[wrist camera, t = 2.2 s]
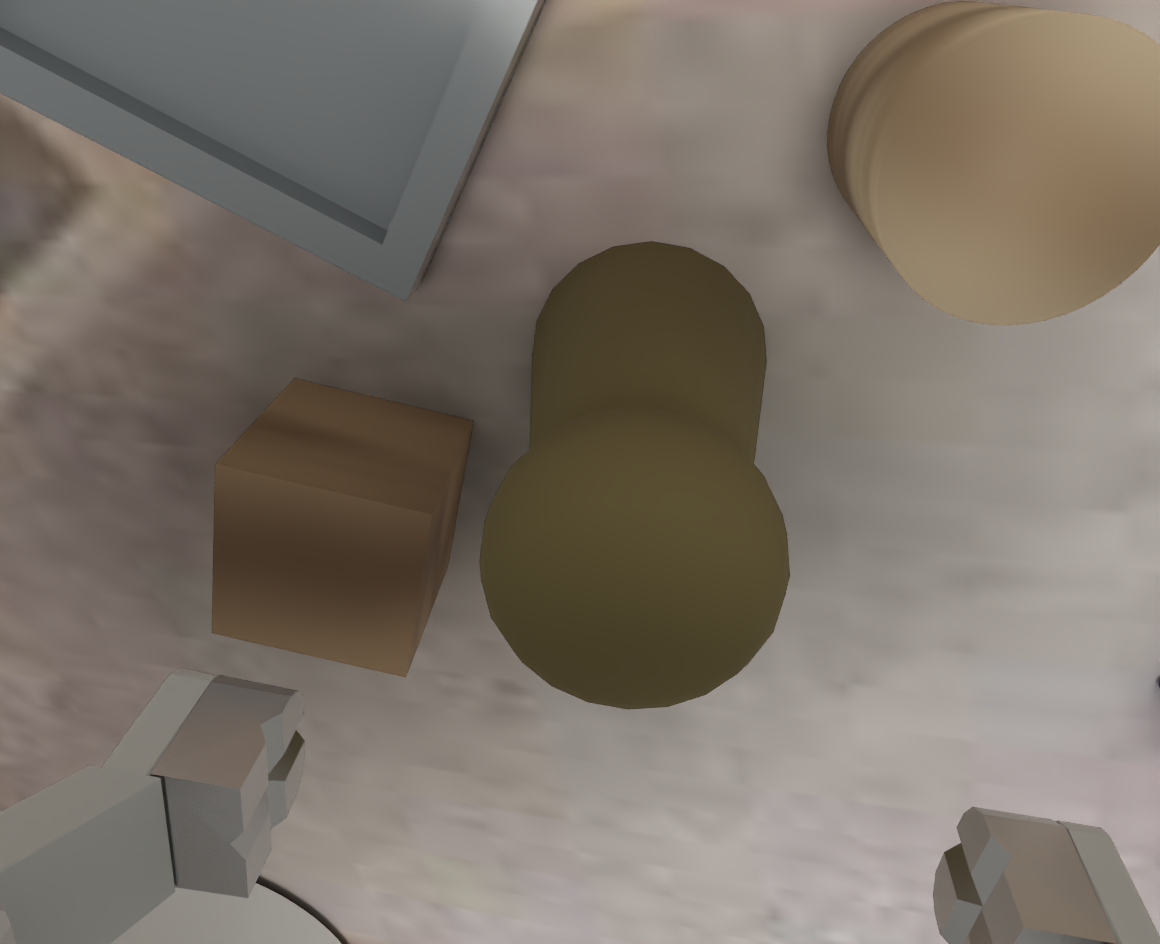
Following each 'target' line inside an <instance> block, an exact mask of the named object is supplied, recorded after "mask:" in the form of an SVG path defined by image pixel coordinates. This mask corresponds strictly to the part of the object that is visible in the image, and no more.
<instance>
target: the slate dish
mask: <svg viewBox="0 0 1160 944" xmlns="http://www.w3.org/2000/svg"><path fill="white" fill-rule="evenodd" d="M545 2H546V0H0V93H1V94H3V95H5V96H7V97H9V98H11V99H13V100H15V101H17V102H19V103H21V104H23V105H25V106H27V107H28V108H30V109H32V110H34V111H36V112H38V113H40V114H42V115H44V116H46V117H48V118H50V119H52V120H54V121H56V122H58V123H60V124H62V125H63V126H65V127H67V128H69V129H71V130H73V131H75V132H77V133H79V134H81V135H83V136H85V137H87V138H89V139H91V140H93V141H95V142H96V143H98V144H100V145H102V146H104V147H106V148H108V149H110V150H112V151H114V152H116V153H118V154H120V155H122V156H124V157H126V158H128V159H130V160H131V161H133V162H135V163H137V164H139V165H141V166H143V167H145V168H147V169H149V170H151V171H153V172H155V173H157V174H159V175H161V176H163V177H164V178H166V179H168V180H170V181H172V182H174V183H176V184H178V185H180V186H182V187H184V188H186V189H188V190H190V191H192V192H194V193H196V194H198V195H199V196H201V197H203V198H205V199H207V200H209V201H211V202H213V203H215V204H217V205H219V206H221V207H223V208H225V209H227V210H229V211H231V212H232V213H234V214H236V215H238V216H240V217H242V218H244V219H246V220H248V221H250V222H252V223H254V224H256V225H258V226H260V227H262V228H264V229H266V230H267V231H269V232H271V233H273V234H275V235H277V236H279V237H281V238H283V239H285V240H287V241H289V242H291V243H293V244H295V245H297V246H299V247H300V248H302V249H304V250H306V251H308V252H310V253H312V254H314V255H316V256H318V257H320V258H322V259H324V260H326V261H328V262H330V263H332V264H333V265H335V266H337V267H339V268H341V269H343V270H345V271H347V272H349V273H351V274H353V275H355V276H357V277H359V278H361V279H363V280H365V281H367V282H368V283H370V284H372V285H374V286H376V287H378V288H380V289H382V290H384V291H386V292H388V293H390V294H392V295H394V296H396V297H398V298H400V299H401V300H403V301H405V302H406V301H407V299H408V298H409V297H410V296H411V294H412V293H413V292H414V291H415V290H416V288H417V287H418V286H419V285H420V283H421V282H422V280H423V278H424V276H425V274H426V271H427V269H428V267H429V264H430V262H431V260H432V258H433V255H434V253H435V251H436V249H437V246H438V244H439V242H440V240H441V237H442V235H443V233H444V231H445V228H446V226H447V224H448V222H449V219H450V217H451V215H452V212H453V210H454V208H455V206H456V203H457V201H458V199H459V197H460V194H461V192H462V190H463V188H464V185H465V183H466V181H467V179H468V176H469V174H470V172H471V169H472V167H473V165H474V163H475V160H476V158H477V156H478V154H479V151H480V149H481V147H482V145H483V142H484V140H485V138H486V136H487V133H488V131H489V129H490V127H491V124H492V122H493V120H494V117H495V115H496V113H497V111H498V108H499V106H500V104H501V102H502V99H503V97H504V95H505V93H506V90H507V88H508V86H509V84H510V81H511V79H512V77H513V74H514V72H515V70H516V68H517V65H518V63H519V61H520V59H521V56H522V54H523V52H524V50H525V47H526V45H527V43H528V41H529V38H530V36H531V34H532V32H533V29H534V27H535V25H536V22H537V20H538V18H539V16H540V13H541V11H542V9H543V7H544V4H545Z"/></svg>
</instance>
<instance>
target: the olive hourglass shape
mask: <svg viewBox="0 0 1160 944" xmlns="http://www.w3.org/2000/svg"><path fill="white" fill-rule="evenodd" d="M765 370H766V348H765V335H764V326H763V323H762V321H761V319H760V317H759V314H758V312H757V310H756V307H755V305H754V303H753V301H752V298H751V296H750V294H749V293H748V292H747V290H746V289H745V288H744V287H743V286H742V285H741V284H740V283H739V282H738V281H737V280H736V279H735V278H734V277H733V276H732V274H731V273H730V272H729V271H728V270H727V269H726V268H725V267H724V266H722V265H720V264H719V263H717V262H715V261H713V260H711V259H709V258H707V257H705V256H704V255H702V254H700V253H698V252H696V251H694V250H692V249H690V248H686V247H680V246H674V245H669V244H663V243H657V242H644V243H637V244H630V245H623V246H616V247H612V248H610V249H608V250H606V251H604V252H602V253H600V254H598V255H595V256H593V257H591V258H589V259H587V260H585V261H583V262H581V263H579V264H578V265H577V266H576V267H575V268H574V269H573V270H572V271H571V272H570V273H569V274H568V275H567V276H566V277H565V278H564V279H563V280H562V281H561V282H560V283H559V284H558V285H557V286H556V287H554V288H553V290H552V292H551V293H550V295H549V297H548V299H547V301H546V303H545V305H544V307H543V309H542V311H541V313H540V315H539V317H538V319H537V322H536V330H535V337H534V345H533V352H532V379H531V416H530V450H529V451H527V452H526V453H525V454H524V455H523V456H522V457H521V458H520V459H519V460H518V461H516V462H515V463H514V464H513V465H512V466H511V467H510V469H509V471H508V473H507V474H506V476H505V478H504V480H503V482H502V484H501V486H500V488H499V489H498V491H497V493H496V495H495V497H494V499H493V501H492V503H491V505H490V507H489V510H488V513H487V515H486V518H485V521H484V528H483V536H482V545H481V553H480V572H481V581H482V585H483V589H484V593H485V596H486V600H487V604H488V608H489V612H490V616H491V618H492V620H493V621H494V623H495V624H496V626H497V627H498V629H499V630H500V632H501V633H502V635H503V636H504V638H505V639H506V641H507V642H508V644H509V645H510V647H511V648H512V649H513V651H514V652H515V654H516V655H517V656H518V658H519V659H520V660H521V662H522V663H524V664H525V665H526V666H527V667H529V668H530V669H531V670H532V671H534V672H535V673H536V674H537V675H539V676H540V677H541V678H542V679H543V680H545V681H546V682H547V683H548V684H550V685H551V686H553V687H555V688H557V689H559V690H562V691H564V692H566V693H568V694H571V695H573V696H575V697H577V698H580V699H582V700H584V701H586V702H590V703H595V704H601V705H607V706H612V707H618V708H623V709H640V708H656V707H669V706H672V705H675V704H678V703H681V702H685V701H688V700H691V699H694V698H697V697H700V696H703V695H706V694H707V693H709V692H710V691H712V690H714V689H715V688H717V687H718V686H720V685H721V684H723V683H724V682H726V681H727V680H729V679H730V678H732V677H733V676H735V675H736V674H738V673H739V672H740V671H741V670H742V669H743V668H744V667H745V666H746V665H747V664H748V663H749V662H750V661H751V659H752V658H753V657H754V656H755V654H756V653H757V652H758V651H759V649H760V648H761V647H762V646H763V644H764V643H765V642H766V641H767V639H768V638H769V637H770V636H771V634H772V633H773V631H774V628H775V625H776V622H777V619H778V616H779V613H780V609H781V606H782V603H783V600H784V597H785V594H786V590H787V585H788V581H789V577H790V570H789V556H788V541H787V532H786V528H785V523H784V519H783V515H782V513H781V511H780V509H779V506H778V504H777V502H776V500H775V498H774V496H773V494H772V492H771V490H770V488H769V486H768V483H767V481H766V479H765V477H764V476H763V475H762V473H761V472H760V471H759V470H758V468H757V467H756V466H755V465H754V460H755V451H756V443H757V435H758V427H759V419H760V411H761V402H762V394H763V386H764V378H765Z"/></svg>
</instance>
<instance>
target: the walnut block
mask: <svg viewBox="0 0 1160 944" xmlns="http://www.w3.org/2000/svg"><path fill="white" fill-rule="evenodd" d="M473 422H474V421H473V420H469V419H465V418H460V417H456V416H452V415H448V414H443V413H439V412H435V411H431V410H426V409H422V408H418V407H414V406H410V405H405V404H401V403H397V402H393V401H388V400H384V399H380V398H376V397H371V396H367V395H363V394H359V393H354V392H350V391H346V390H342V389H337V388H333V387H329V386H325V385H321V384H316V383H312V382H308V381H304V380H299V379H295V378H294V379H293V380H292V381H291V383H290V384H289V385H288V386H287V387H286V388H285V389H284V390H283V391H282V392H281V393H280V394H279V396H278V397H277V398H276V399H275V400H274V401H273V402H272V403H271V404H270V405H269V406H268V407H267V408H266V410H265V411H264V412H263V413H262V414H261V415H260V416H259V417H258V418H257V419H256V420H255V421H254V423H253V424H252V425H251V426H250V427H249V428H248V429H247V430H246V431H245V432H244V433H243V434H242V436H241V437H240V438H239V439H238V440H237V441H236V442H235V443H234V444H233V445H232V446H231V447H230V449H229V450H228V451H227V452H226V453H225V454H224V455H223V456H222V457H221V458H220V459H219V460H218V462H217V463H216V464H215V491H214V543H213V594H212V633H214V634H218V635H222V636H227V637H231V638H236V639H240V640H244V641H249V642H253V643H258V644H262V645H266V646H271V647H275V648H280V649H284V650H288V651H293V652H297V653H301V654H306V655H310V656H315V657H319V658H323V659H328V660H332V661H337V662H341V663H345V664H350V665H354V666H358V667H363V668H367V669H372V670H376V671H380V672H385V673H389V674H394V675H398V676H402V677H406V676H407V673H408V671H409V668H410V665H411V663H412V660H413V657H414V655H415V652H416V649H417V647H418V644H419V642H420V639H421V636H422V634H423V631H424V628H425V626H426V623H427V620H428V618H429V615H430V612H431V610H432V607H433V605H434V602H435V599H436V597H437V594H438V591H439V589H440V586H441V583H442V581H443V578H444V576H445V573H446V570H447V568H448V563H449V558H450V552H451V546H452V541H453V535H454V529H455V524H456V518H457V512H458V507H459V501H460V496H461V490H462V484H463V479H464V473H465V467H466V462H467V456H468V450H469V445H470V439H471V433H472V428H473Z"/></svg>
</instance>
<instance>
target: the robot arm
mask: <svg viewBox="0 0 1160 944" xmlns="http://www.w3.org/2000/svg"><path fill="white" fill-rule="evenodd" d="M303 715H304V706H303V694H302V693H301V692H299V691H298V690H293V689H288V688H283V687H278V686H273V685H268V684H263V683H258V682H253V681H248V680H243V679H238V678H233V677H228V676H223V675H220V676H218V675H213V674H208V673H203V672H198V671H193V670H188V669H183V668H179V669H178V670H176V671H175V672H173V673H172V674H170V675H169V676H168V677H167V678H166V680H165V681H164V682H163V684H162V685H161V686H160V688H159V689H158V690H157V692H156V693H155V695H154V696H153V697H152V699H151V700H150V701H149V703H148V704H147V705H146V707H145V708H144V710H143V711H142V712H141V714H140V715H139V716H138V718H137V719H136V720H135V722H134V723H133V724H132V726H131V727H130V729H129V730H128V731H127V733H126V734H125V735H124V737H123V738H122V739H121V741H120V742H119V744H118V745H117V746H116V748H115V749H114V750H113V752H112V753H111V754H110V756H109V757H108V759H107V760H106V761H105V763H104V764H103V765H102V767H97V766H90V765H88V766H87V767H85V768H83V769H81V770H79V771H77V772H75V773H73V774H71V775H69V776H67V777H66V778H64V779H62V780H60V781H58V782H56V783H54V784H52V785H50V786H48V787H46V788H45V789H43V790H41V791H39V792H37V793H35V794H33V795H31V796H29V797H27V798H25V799H24V800H22V801H20V802H18V803H16V804H14V805H12V806H10V807H8V808H6V809H4V810H3V811H1V812H0V944H341V942H340V941H339V940H338V939H337V938H336V937H335V936H334V935H333V934H332V933H331V932H330V931H329V930H328V929H327V928H326V927H325V926H324V925H323V924H321V923H320V922H319V921H318V920H317V919H315V918H314V917H313V916H312V915H310V914H309V913H308V912H306V911H305V910H303V909H302V908H300V907H299V906H297V905H296V904H294V903H293V902H291V901H289V900H288V899H286V898H284V897H283V896H281V895H279V894H277V893H275V892H273V891H272V890H270V889H268V888H265V887H263V886H261V885H259V884H257V883H256V881H257V879H258V877H259V874H260V872H261V870H262V868H263V866H264V864H265V862H266V860H267V858H268V856H269V853H270V851H271V828H272V827H273V826H275V825H276V824H278V823H279V822H281V821H282V820H284V819H285V818H286V817H287V815H288V813H289V810H290V808H291V806H292V804H293V802H294V799H295V797H296V793H297V790H298V786H299V783H300V780H301V776H302V772H303V764H304V757H305V741H304V739H303V738H302V737H301V736H300V734H299V733H298V732H297V731H296V729H297V727H298V725H299V723H300V721H301V719H302V717H303ZM956 828H957V831H958V834H959V837H960V841H961V843H960V844H958V845H957V846H955V847H953V848H951V849H949V850H947V851H946V852H944V854H943V856H942V858H941V860H940V863H939V865H938V867H937V870H936V873H935V882H934V890H933V900H934V911H935V916H936V921H937V925H938V929H939V933H940V934H941V936H942V937H943V938H944V939H945V940H946V941H947V942H948V943H949V944H1160V936H1159V934H1158V932H1157V930H1156V928H1155V926H1154V924H1153V922H1152V920H1151V918H1150V916H1149V914H1148V912H1147V910H1146V908H1145V906H1144V904H1143V902H1142V900H1141V898H1140V896H1139V894H1138V892H1137V890H1136V888H1135V886H1134V884H1133V881H1132V879H1131V877H1130V875H1129V873H1128V871H1127V869H1126V867H1125V865H1124V863H1123V861H1122V859H1121V857H1120V855H1119V853H1118V851H1117V849H1116V847H1115V845H1114V843H1113V841H1112V839H1111V838H1110V836H1109V835H1108V834H1107V833H1106V832H1105V831H1104V830H1103V829H1102V828H1100V827H1094V826H1088V825H1082V824H1076V823H1069V822H1063V821H1053V820H1051V819H1045V818H1039V817H1033V816H1027V815H1021V814H1015V813H1008V812H1002V811H996V810H990V809H984V808H978V807H971V808H970V809H969V810H967V811H966V812H965V813H964V814H963V816H962V818H961V820H960V822H959V824H958V825H957V827H956Z"/></svg>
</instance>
